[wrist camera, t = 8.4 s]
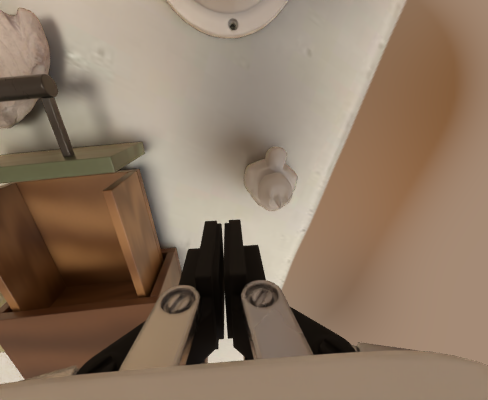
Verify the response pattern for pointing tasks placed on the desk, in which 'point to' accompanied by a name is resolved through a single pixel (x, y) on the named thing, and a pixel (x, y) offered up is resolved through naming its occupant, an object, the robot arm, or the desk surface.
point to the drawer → (72, 218)
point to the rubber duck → (271, 180)
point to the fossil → (21, 58)
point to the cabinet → (77, 326)
